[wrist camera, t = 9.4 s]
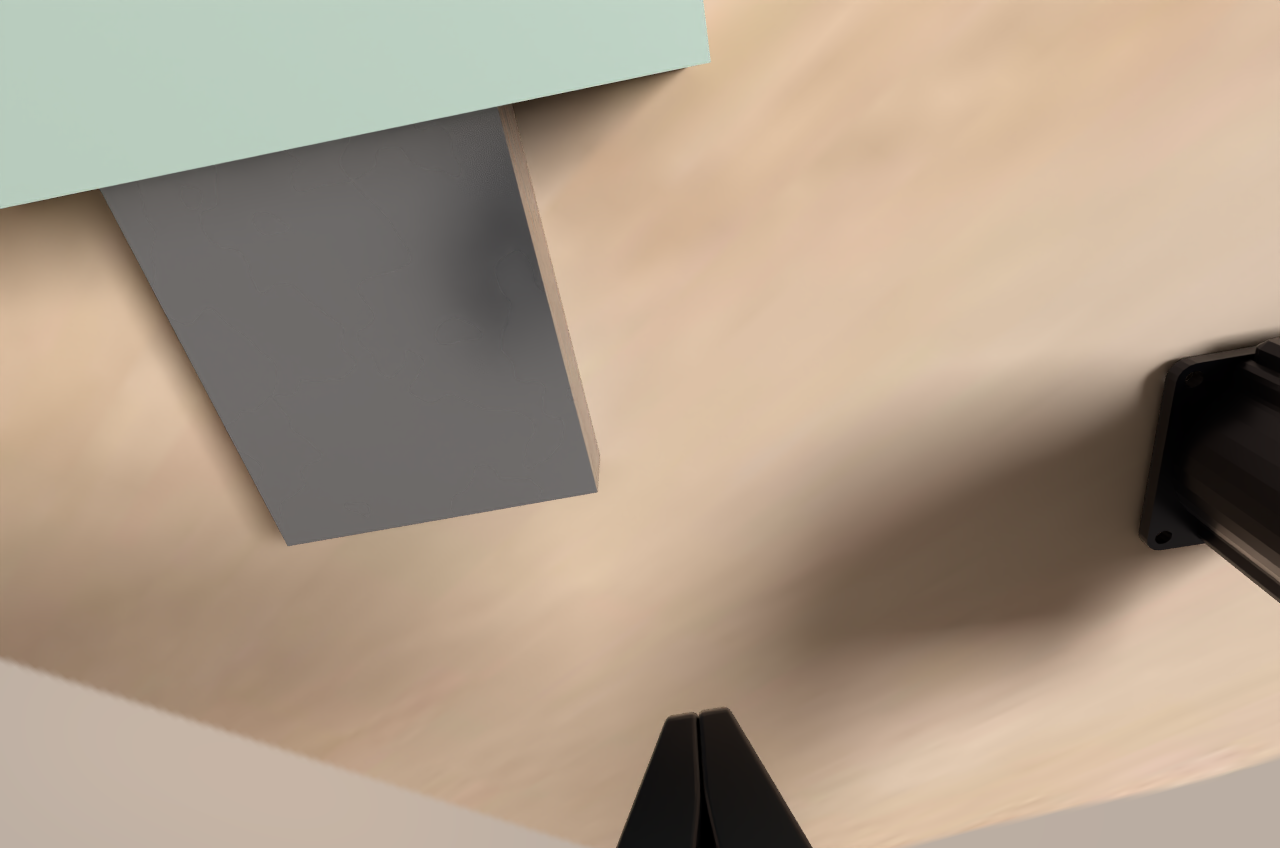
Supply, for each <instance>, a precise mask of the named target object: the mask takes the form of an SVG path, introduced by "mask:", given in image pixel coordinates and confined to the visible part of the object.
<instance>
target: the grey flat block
mask: <svg viewBox="0 0 1280 848" xmlns="http://www.w3.org/2000/svg"><path fill="white" fill-rule="evenodd" d="M99 189H100V191H101V193H102V195H103V196H104V198H105V200H106V202H107V204H108V206H109V208H110V210H111V212H112V213H113V215H114V217H115V219H116V221H117V223H118V225H119V227H120V229H121V231H122V232H123V234H124V236H125V238H126V240H127V242H128V244H129V246H130V248H131V250H132V251H133V253H134V255H135V257H136V259H137V261H138V263H139V265H140V267H141V269H142V270H143V272H144V274H145V276H146V278H147V280H148V282H149V284H150V286H151V287H152V289H153V291H154V293H155V295H156V297H157V299H158V301H159V303H160V305H161V306H162V308H163V310H164V312H165V314H166V316H167V318H168V320H169V322H170V324H171V325H172V327H173V329H174V331H175V333H176V335H177V337H178V339H179V341H180V343H181V344H182V346H183V348H184V350H185V352H186V354H187V356H188V358H189V360H190V362H191V363H192V365H193V367H194V369H195V371H196V373H197V375H198V377H199V379H200V380H201V382H202V384H203V386H204V388H205V390H206V392H207V394H208V396H209V398H210V399H211V401H212V403H213V405H214V407H215V409H216V411H217V413H218V415H219V417H220V418H221V420H222V422H223V424H224V426H225V428H226V430H227V432H228V434H229V436H230V437H231V439H232V441H233V443H234V445H235V447H236V449H237V451H238V453H239V455H240V456H241V458H242V460H243V462H244V464H245V466H246V468H247V470H248V472H249V473H250V475H251V477H252V479H253V481H254V483H255V485H256V487H257V489H258V491H259V492H260V494H261V496H262V498H263V500H264V502H265V504H266V506H267V508H268V510H269V511H270V513H271V515H272V517H273V519H274V521H275V523H276V525H277V527H278V529H279V530H280V532H281V534H282V536H283V538H284V540H285V542H286V544H287V546H292V545H297V544H303V543H309V542H315V541H320V540H326V539H332V538H338V537H343V536H349V535H355V534H361V533H366V532H372V531H378V530H384V529H389V528H395V527H401V526H406V525H412V524H418V523H424V522H429V521H435V520H441V519H447V518H452V517H458V516H464V515H470V514H475V513H481V512H487V511H493V510H498V509H504V508H510V507H515V506H521V505H527V504H533V503H538V502H544V501H550V500H556V499H561V498H567V497H573V496H579V495H584V494H590V493H596V492H598V479H599V463H600V454H599V450H598V446H597V442H596V438H595V434H594V430H593V426H592V422H591V418H590V414H589V410H588V406H587V402H586V398H585V394H584V390H583V386H582V382H581V378H580V374H579V370H578V366H577V362H576V358H575V354H574V350H573V346H572V342H571V338H570V334H569V330H568V326H567V322H566V318H565V314H564V310H563V306H562V302H561V298H560V294H559V290H558V286H557V282H556V278H555V274H554V270H553V266H552V262H551V258H550V254H549V250H548V246H547V242H546V238H545V234H544V230H543V226H542V222H541V218H540V214H539V210H538V206H537V202H536V198H535V194H534V190H533V186H532V182H531V178H530V174H529V170H528V166H527V162H526V158H525V154H524V150H523V146H522V142H521V138H520V134H519V130H518V126H517V122H516V118H515V114H514V110H513V106H512V103H511V104H506V105H501V106H496V107H491V108H487V109H482V110H477V111H472V112H467V113H462V114H458V115H453V116H448V117H443V118H438V119H433V120H428V121H424V122H419V123H414V124H409V125H404V126H399V127H394V128H390V129H385V130H380V131H375V132H370V133H365V134H360V135H356V136H351V137H346V138H341V139H336V140H331V141H327V142H322V143H317V144H312V145H307V146H302V147H297V148H293V149H288V150H283V151H278V152H273V153H268V154H263V155H259V156H254V157H249V158H244V159H239V160H234V161H229V162H225V163H220V164H215V165H210V166H205V167H200V168H196V169H191V170H186V171H181V172H176V173H171V174H166V175H162V176H157V177H152V178H147V179H142V180H137V181H132V182H128V183H123V184H118V185H113V186H108V187H103V188H99Z"/></svg>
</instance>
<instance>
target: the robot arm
mask: <svg viewBox="0 0 1280 848" xmlns="http://www.w3.org/2000/svg"><path fill="white" fill-rule="evenodd" d="M1192 372H1193V374H1192V377H1191V378H1189V379H1188V380H1187V381H1185V380H1186V377H1187V376H1188V375H1189V374H1190V373H1192ZM1160 532H1161V533H1160ZM1159 533H1160V534H1159ZM1158 534H1159V535H1158ZM1139 537H1140V539H1141V540H1142V541H1143V542H1144V543H1145V544H1146V545H1147V546H1149V547H1150V548H1151V549H1154V550H1164V549H1171V548H1177V547H1184V546H1191V545H1197V544H1204V543H1206V544H1207V545H1208V546H1209V547H1211V548H1212V549H1213V550H1214V551H1216V552H1217V553H1218V554H1219V555H1221V556H1222V557H1223V558H1224V559H1225V560H1227V561H1228V562H1229V563H1230V564H1232V565H1233V566H1234V567H1235V568H1237V569H1238V570H1239V571H1240V572H1242V573H1243V574H1244V575H1245V576H1247V577H1248V578H1249V579H1250V580H1252V581H1253V582H1254V583H1255V584H1257V585H1258V586H1259V587H1260V588H1262V589H1263V590H1264V591H1265V592H1267V593H1268V594H1269V595H1270V596H1272V597H1273V598H1274V599H1275V600H1277V601H1278V602H1279V603H1280V337H1278V338H1272V339H1268V340H1266V341H1264V342H1262V343H1260V344H1258V345H1257V346H1253V347H1248V348H1242V349H1236V350H1230V351H1224V352H1218V353H1212V354H1206V355H1201V356H1195V357H1189V358H1185V359H1182V360H1179V361H1178V362H1177V363H1175V364H1174V365H1173V366H1172V367H1171V368H1170V369H1169V371H1168V373H1167V376H1166V380H1165V385H1164V391H1163V397H1162V403H1161V408H1160V414H1159V420H1158V425H1157V431H1156V437H1155V443H1154V448H1153V454H1152V460H1151V465H1150V471H1149V477H1148V483H1147V488H1146V494H1145V500H1144V505H1143V511H1142V517H1141V523H1140V528H1139ZM616 848H813V847H812V846H811V844H810V842H809V841H808V839H807V837H806V836H805V834H804V832H803V831H802V829H801V827H800V826H799V824H798V822H797V821H796V819H795V817H794V816H793V814H792V812H791V811H790V809H789V807H788V806H787V804H786V802H785V801H784V799H783V797H782V796H781V794H780V792H779V791H778V789H777V787H776V786H775V784H774V782H773V781H772V779H771V777H770V775H769V774H768V772H767V770H766V769H765V767H764V765H763V764H762V762H761V760H760V759H759V757H758V755H757V754H756V752H755V750H754V749H753V747H752V745H751V744H750V742H749V740H748V739H747V737H746V735H745V734H744V732H743V730H742V729H741V727H740V725H739V724H738V722H737V720H736V719H735V717H734V715H733V714H732V712H731V711H730V709H728V708H727V707H720V708H714V709H707V710H703V711H701V712H700V713H699V716H698V715H697V714H696V713H694V712H689V713H683V714H676V715H671V716H669V717H668V718H667V719H666V721H665V723H664V725H663V728H662V730H661V733H660V735H659V738H658V741H657V743H656V746H655V748H654V751H653V754H652V756H651V759H650V761H649V764H648V767H647V769H646V772H645V774H644V777H643V779H642V782H641V785H640V787H639V790H638V792H637V795H636V798H635V800H634V803H633V805H632V808H631V811H630V813H629V816H628V818H627V821H626V823H625V826H624V829H623V831H622V834H621V836H620V839H619V842H618V844H617V847H616Z"/></svg>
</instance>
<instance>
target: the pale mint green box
mask: <svg viewBox="0 0 1280 848" xmlns="http://www.w3.org/2000/svg"><path fill="white" fill-rule="evenodd" d="M710 62H711V61H710V53H709V45H708V36H707V28H706V20H705V12H704V4H703V0H0V209H1V208H6V207H11V206H16V205H21V204H26V203H31V202H35V201H40V200H45V199H50V198H55V197H60V196H64V195H69V194H74V193H79V192H84V191H89V190H94V189H98V188H103V187H108V186H113V185H118V184H123V183H128V182H132V181H137V180H142V179H147V178H152V177H157V176H162V175H166V174H171V173H176V172H181V171H186V170H191V169H196V168H200V167H205V166H210V165H215V164H220V163H225V162H229V161H234V160H239V159H244V158H249V157H254V156H259V155H263V154H268V153H273V152H278V151H283V150H288V149H293V148H297V147H302V146H307V145H312V144H317V143H322V142H327V141H331V140H336V139H341V138H346V137H351V136H356V135H360V134H365V133H370V132H375V131H380V130H385V129H390V128H394V127H399V126H404V125H409V124H414V123H419V122H424V121H428V120H433V119H438V118H443V117H448V116H453V115H458V114H462V113H467V112H472V111H477V110H482V109H487V108H491V107H496V106H501V105H506V104H511V103H516V102H521V101H525V100H530V99H535V98H540V97H545V96H550V95H555V94H559V93H564V92H569V91H574V90H579V89H584V88H589V87H593V86H598V85H603V84H608V83H613V82H618V81H623V80H627V79H632V78H637V77H642V76H647V75H652V74H656V73H661V72H666V71H671V70H676V69H681V68H686V67H690V66H695V65H700V64H705V63H710Z"/></svg>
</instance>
